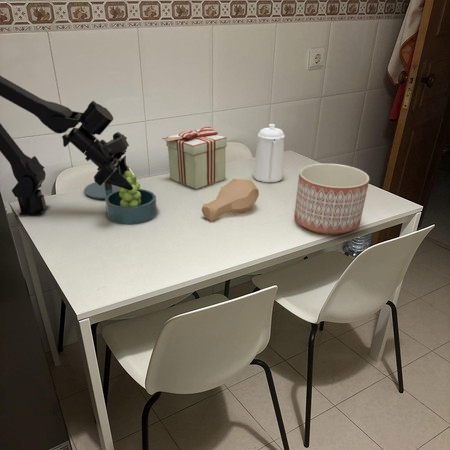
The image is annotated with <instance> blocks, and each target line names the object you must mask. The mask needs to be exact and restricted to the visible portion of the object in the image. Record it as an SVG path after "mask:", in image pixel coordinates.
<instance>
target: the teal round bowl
mask: <svg viewBox="0 0 450 450" xmlns="http://www.w3.org/2000/svg"><path fill="white" fill-rule="evenodd" d="M138 191H139V192H140V193H141V198H140V199H141V204H140V205H138V206H135V207H121V205H120V201H121V200H122V198H120V196H119V192H120V191H119V190H118V191H115V192H112V193H111V194H109V195H108V196H107V197H106V199H104V202H105V207H106V215H107V217H108V220H110V221H112V222H114V223H117V224H120V225H121V224H122V225H136V224H137V225H138V224H143V223H146V222H150V221H151V220H152V219H154V218H155V217H156V216H157V213H158V212H157V211H158V207H157V197H156V196H157V195H156V194H155V193H154V192H153V191H150V190H148V189H142V188H140V189H139V190H138Z"/></svg>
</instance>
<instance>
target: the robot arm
mask: <svg viewBox="0 0 450 450" xmlns="http://www.w3.org/2000/svg"><path fill="white" fill-rule="evenodd" d="M0 97H1V98H4V99H5V100H7V101H9V102H11V103H12V104H14V105H16V106H17V107H20V108H22V109H23V110H25V111H26V112H28V113H30V114H33V115H34V116H35V117H36V118H37V119H38V120H39V121H40V122H41V123H42V124H43V125H44V126H45V127H47V128H48V129H49V130H50V131H52V132H53V133H56V134H59V135H60V134H63V133H64V134H63V135H62V136H61V138H62V145H63V147H64V148H66V147H67V146H68V145H69V144H70V143H71V144H72V145H73V146H74V147H75V148H76V149H77V150H78V151H79V152H81V153H82V154H83V155H84V156H85V158H84V159H85V160H86V161H87V162H89V161H91V162H92V163H93V164H94V165H95V166H96V167H97V169H96V170H97V172H96V173H95V174H94V175H93V182H94V183H95V182H96V183H97V184H98V185H99V186H101V185H102V184H103V183H105V184H106V183H108V184H111V185H115V186H118V187H121V188H124V189H128V190H132V189H133V187H132V185H131V184H130V183H129V182H128V181H127V180H126V178H125V177H124V176H123V175H124V173H125V171H127V166H128V165H127V155H125V154H126V153H127V149H128V147H129V146H130V144H129V142H128V140H127V139H128V138H127V136H125V134H122V133H121V132H119V131H116V132H114V133H113V134H112V139H110V140H109V141H106V140H104V139H101V140H99V139H98V138H97V137H96V136H95V135H98V136H101V135H102V134H103V133H104V131H105V130H106V129H107V128H108V127H109V125H110V124H111V123H112V122H113V121H114V116H113V114H112V113H111V112H110V111H109V110H108V108H106V107H104V106H103V105H101V104H99V103H97V102H96V101H95V100H92V101H90V103H89V104H88V105H87V108H86V109H85V110H84V111H83V112H80V111H74V110H72V109H70V107H67V106H66V105H62V104H59V103H57V102H53V101H49V100H45V99H44V98H43V99H42V98H41V97H39V96H38V95H36V94H34V93H32V92H30V91H28V90H26V89H25V88H23V87H21V86H19V85H18V84H16V83H14V82H12V81H11V80H9V79H8V78H5V77H3V76H2V75H0ZM79 124H81V125H80V126H79V127H77V126H78V125H79ZM70 129H71V130H70ZM69 130H70V131H69ZM68 131H69V132H68ZM66 132H68V133H67V134H65V133H66ZM0 154H1V155H2V156H3V157H4V158H5V160H6V161H7V162H8V163H9V165H10V168H11V172H12V175H13V177H14V178H15V180H16V182H17V183H16V184H15V185H14V187H13V188H12V189H11V193H12V194H13V195H14V198H17V202H18V206H19V210H20V211H19V213H18V215H19V216H41V215H43V213H44V212H45V210H46V209H47V208H48V206H47V203H46V199H45V195H44V194H43V193H42V190H41V187H42V185H43V183H44V182H45V180H46V176H47V173H46V171H45V166H44V165H42V164H41V163H40V161H39V160H38V158H37V156H35V155H33V156H32V157H30V156H28V155H27V154H25V153H24V152H23V150H22V149H21V148H20V147H19V145H18V144H17V142H16V141H15V140H14V139H13V137H12V136H11V135H10V134H9V132H8V131H7V130H6V128H5V127H4V126H3V125H2V123H1V122H0ZM132 175H134V174H133V173H132ZM104 181H105V182H104Z"/></svg>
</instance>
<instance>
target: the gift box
mask: <svg viewBox="0 0 450 450" xmlns="http://www.w3.org/2000/svg"><path fill="white" fill-rule="evenodd" d="M227 139H228V138H227V137H226V136H223V135H220V134H218V131H216V130H215V129H214V128H213V127H211V126H204V127H202V128H200V129H193V130H187V131H182V132H180V133H177V134H173V135H169V136H166V137H162V140H164V141H166V142H165V143H166V144H165V145H166V147H167V152H168V167H169V168H168V169H169V179H170V180H172V181H175V182H177V183H179V184H182V185H184V186H187V187H189V188H191V189H194V190H198V189H200V188H201V189H202V188H204V187H207V186H210V185H213V184H216V183H219V182H222V181H224V180H225V181H226V147H228V140H227Z"/></svg>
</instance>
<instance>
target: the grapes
mask: <svg viewBox="0 0 450 450" xmlns="http://www.w3.org/2000/svg"><path fill="white" fill-rule="evenodd" d="M132 174H133V172H132V171H131V170H130V167H129V166H128V165H127V171H125V173H124V175H123V176H124V177H125V178H126V180H127V181H128V182H129V183H130V184H131V185H132V187H133V189H132V190H128V189H124V188H121V187H119V191H120V192H119V196H120V198H122V200H121V201H120V205H121V207H135V206H138V205H140V204H141V199H140V198H141V193H140V192H139V191H138V190H139V189H141V184H140V183H139V182H138V179H137V176H136V175H135V174H133V175H132Z"/></svg>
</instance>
